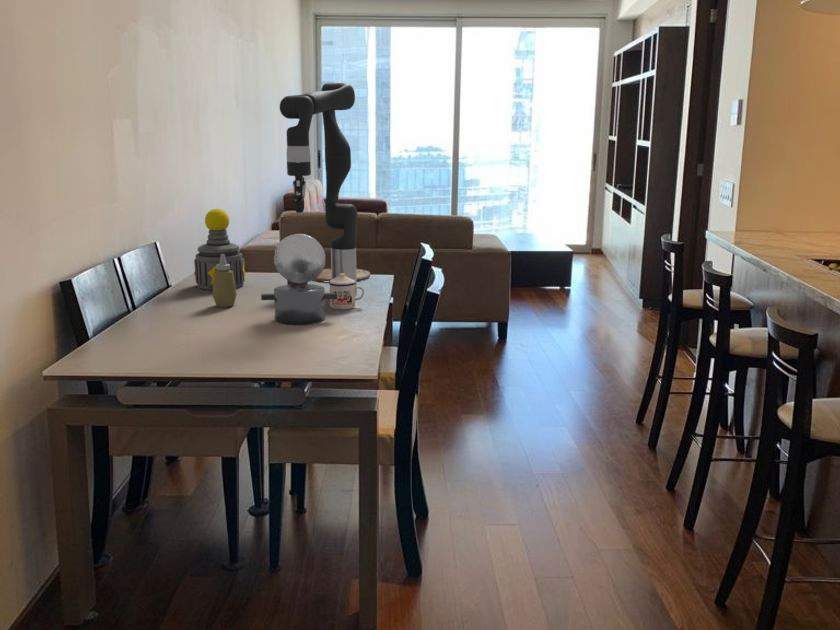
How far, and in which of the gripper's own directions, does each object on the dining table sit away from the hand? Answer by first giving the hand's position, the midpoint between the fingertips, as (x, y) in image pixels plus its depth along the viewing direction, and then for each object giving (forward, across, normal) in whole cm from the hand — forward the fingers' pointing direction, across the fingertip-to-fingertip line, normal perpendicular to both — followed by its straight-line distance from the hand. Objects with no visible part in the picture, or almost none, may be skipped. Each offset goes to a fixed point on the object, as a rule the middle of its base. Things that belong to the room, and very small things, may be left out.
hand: (300, 211), depth 261 cm
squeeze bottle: (+34, -12, -28) cm, 45 cm away
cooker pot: (+34, +10, -1) cm, 35 cm away
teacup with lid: (+34, -7, +14) cm, 38 cm away
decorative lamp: (+34, -48, -34) cm, 69 cm away
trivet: (+35, -64, +12) cm, 74 cm away
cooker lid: (+15, +3, -1) cm, 16 cm away
